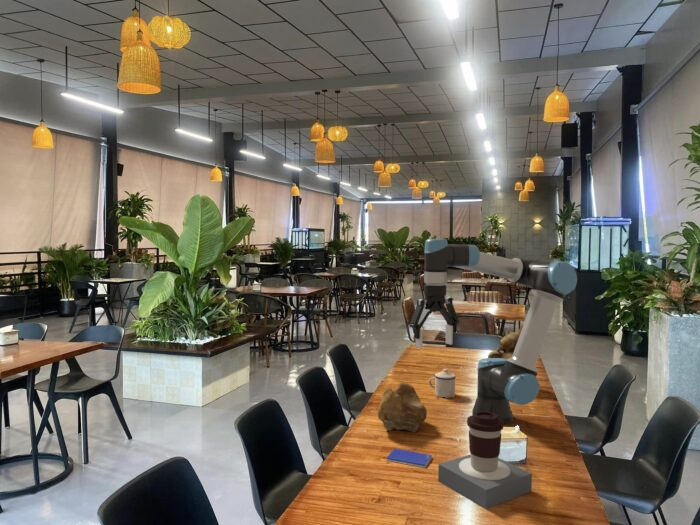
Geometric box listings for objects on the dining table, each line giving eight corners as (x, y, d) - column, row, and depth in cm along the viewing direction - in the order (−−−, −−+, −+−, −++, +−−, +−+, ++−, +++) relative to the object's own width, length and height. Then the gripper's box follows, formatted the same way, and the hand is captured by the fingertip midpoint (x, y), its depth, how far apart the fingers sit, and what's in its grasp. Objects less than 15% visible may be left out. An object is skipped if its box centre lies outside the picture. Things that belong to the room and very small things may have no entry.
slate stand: (482, 466, 160) (482, 449, 160) (531, 491, 145) (531, 472, 145) (438, 481, 151) (438, 463, 150) (485, 508, 135) (486, 488, 135)
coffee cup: (459, 466, 148) (460, 414, 147) (478, 456, 155) (479, 406, 154) (490, 478, 141) (492, 423, 140) (508, 467, 148) (510, 415, 147)
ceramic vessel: (486, 382, 252) (487, 320, 251) (533, 385, 249) (535, 322, 247) (489, 392, 237) (490, 326, 235) (539, 395, 233) (541, 328, 232)
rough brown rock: (413, 444, 179) (418, 401, 178) (369, 431, 187) (374, 390, 186) (435, 425, 200) (439, 386, 199) (394, 414, 207) (398, 377, 206)
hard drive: (432, 454, 167) (395, 447, 172) (425, 464, 159) (386, 457, 164) (431, 459, 167) (394, 452, 172) (425, 469, 159) (386, 462, 164)
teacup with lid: (457, 394, 234) (458, 368, 233) (451, 399, 226) (452, 373, 225) (432, 390, 239) (432, 365, 239) (425, 395, 231) (425, 369, 231)
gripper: (454, 281, 188) (453, 340, 189) (399, 284, 175) (398, 347, 176) (469, 283, 182) (468, 344, 183) (413, 286, 168) (412, 352, 169)
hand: (434, 346), depth 179 cm, fingers open, 13 cm apart
